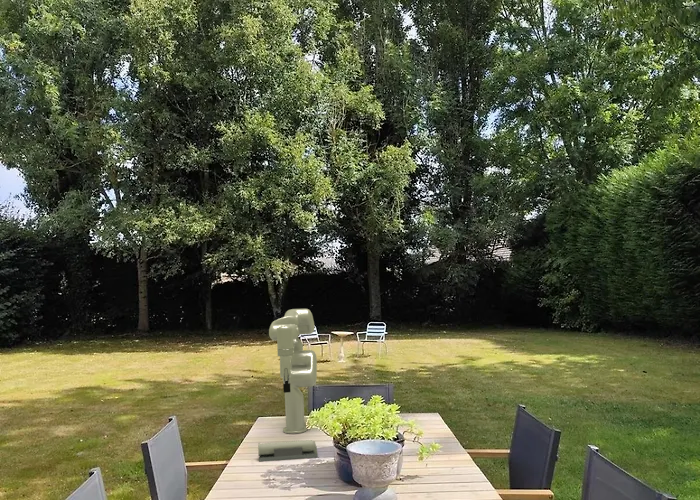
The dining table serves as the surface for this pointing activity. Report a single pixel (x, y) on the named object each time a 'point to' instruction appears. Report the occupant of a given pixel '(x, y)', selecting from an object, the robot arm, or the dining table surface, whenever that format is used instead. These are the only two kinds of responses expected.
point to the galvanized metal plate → (288, 454)
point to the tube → (285, 446)
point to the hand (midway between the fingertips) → (287, 392)
